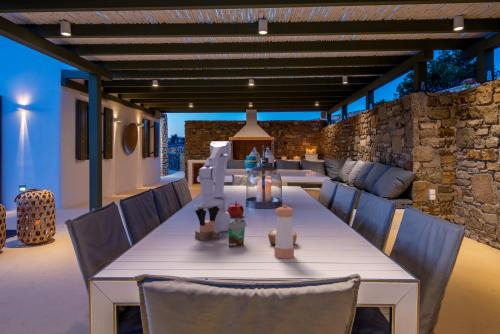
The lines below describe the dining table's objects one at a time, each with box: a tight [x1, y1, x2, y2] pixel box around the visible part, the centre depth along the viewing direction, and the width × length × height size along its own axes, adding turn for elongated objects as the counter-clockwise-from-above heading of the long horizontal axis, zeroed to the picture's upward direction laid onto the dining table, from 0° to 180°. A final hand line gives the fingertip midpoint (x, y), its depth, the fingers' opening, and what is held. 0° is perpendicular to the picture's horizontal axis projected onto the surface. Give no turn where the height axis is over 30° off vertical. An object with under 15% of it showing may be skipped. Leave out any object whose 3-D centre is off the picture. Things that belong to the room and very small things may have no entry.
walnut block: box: [194, 229, 220, 242], centre depth 172 cm, size 8×8×4 cm
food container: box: [228, 217, 247, 248], centre depth 161 cm, size 12×6×10 cm, turn 168°
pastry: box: [267, 229, 298, 247], centre depth 163 cm, size 12×12×9 cm
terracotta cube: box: [199, 219, 214, 233], centre depth 172 cm, size 4×4×4 cm
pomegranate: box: [226, 200, 245, 218], centre depth 228 cm, size 10×10×9 cm
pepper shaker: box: [273, 204, 295, 260], centre depth 144 cm, size 7×7×19 cm
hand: (207, 224), depth 172 cm, fingers open, 5 cm apart
